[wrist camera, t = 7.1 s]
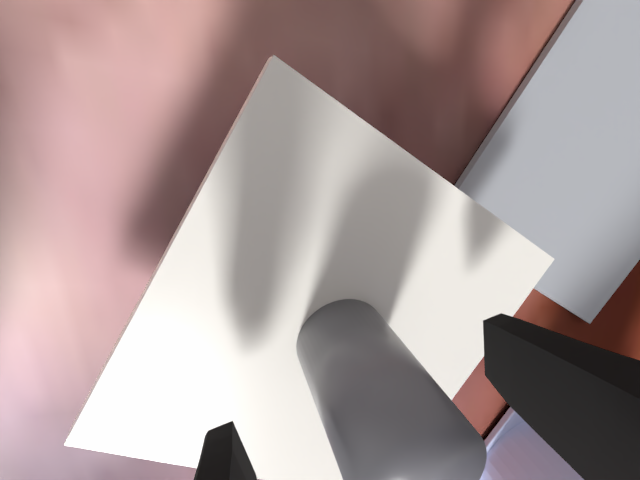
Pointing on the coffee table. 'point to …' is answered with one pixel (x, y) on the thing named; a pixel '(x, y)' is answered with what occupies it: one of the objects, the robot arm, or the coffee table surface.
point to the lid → (313, 306)
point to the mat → (572, 156)
